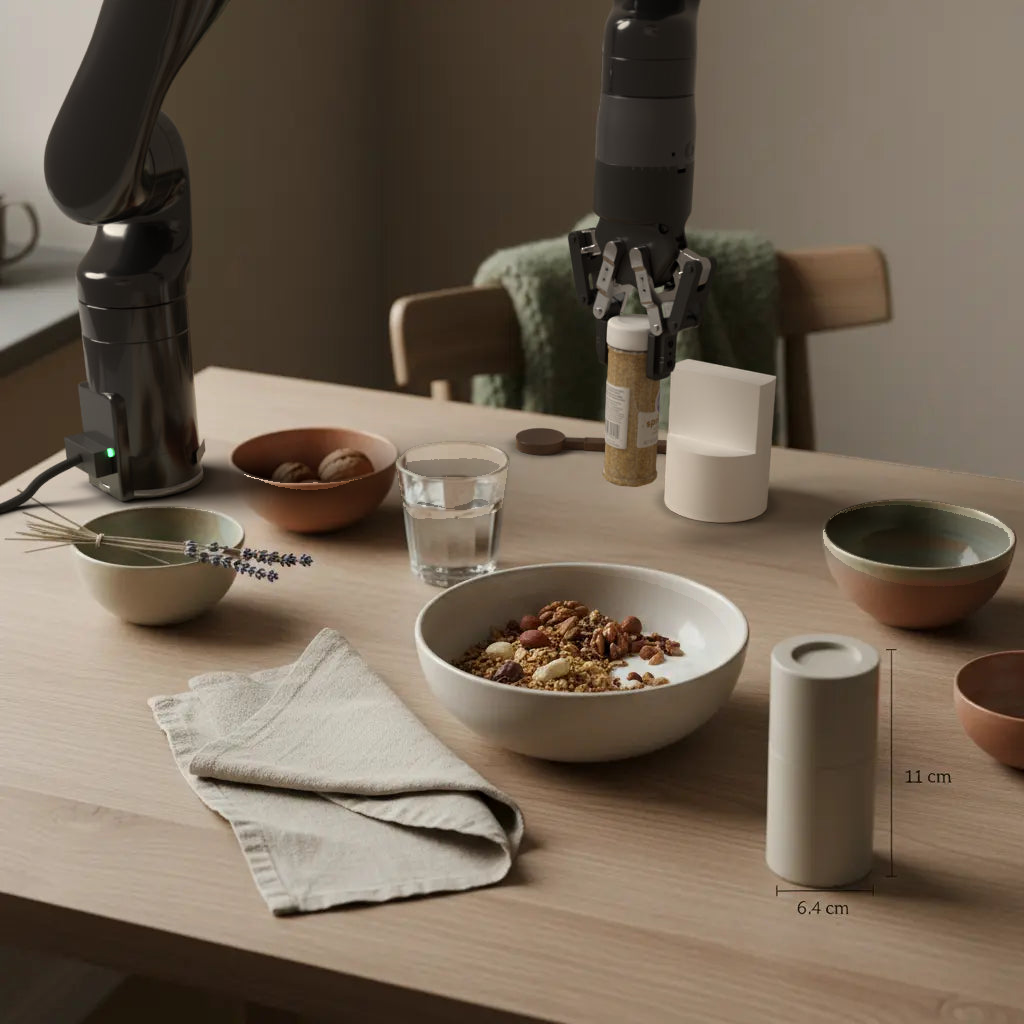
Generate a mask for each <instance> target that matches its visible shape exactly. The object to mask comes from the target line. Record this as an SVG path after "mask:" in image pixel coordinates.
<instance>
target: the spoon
mask: <svg viewBox="0 0 1024 1024" xmlns="http://www.w3.org/2000/svg"><path fill="white" fill-rule="evenodd" d="M605 444H606V443H605V437H590V436H589V437H588V436H587V437H567V436H566V434H565V433H563V432H562V431H560V430H557V429H553V428H546V427H533V428H527V429H523V430H520V431H519V432H517V433H516V434H515V448H516V449H517V451H520V452H522V453H525V454H529V455H539V456H546V455H554V454H557V453H560V452H562V451H563V450H583V451H591V452H592V451H595V452H596V451H597V452H605ZM666 450H667V439H658V441H657V454H666Z"/></svg>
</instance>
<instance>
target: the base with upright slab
mask: <svg viewBox="0 0 1024 1024" xmlns="http://www.w3.org/2000/svg"><path fill="white" fill-rule="evenodd" d="M776 385H777V376H776V375H772V374H766V373H761V372H756V371H752V370H745V369H741V368H736V367H730V366H724V365H721V364H715V363H711V362H706V361H701V360H695V359H690V358H687V359H683V360H680V361H676V363H675V368H674V371H673V372H671V374H670V385H669V386H670V387H669V388H670V389H669V406H668V407H669V409H668V427H667V428H668V430H667V431H668V432H667V435H666V440H667V450H666V453H665V473H664V474H665V476H664V497H663V501H664V504H665V506H666V507H667V508H668V509H669V510H670V511H671V512H673V513H675V514H677V515H679V516H681V517H684V518H686V519H687V518H688V519H690V520H695V521H699V522H706V523H708V522H709V523H718V524H719V523H736V522H737V523H738V522H744V521H748V520H751V519H754V518H758V517H760V515H762V514H763V513H764V512H765V511H766V510H767V508H768V499H769V498H768V497H769V483H770V471H771V470H770V469H771V459H772V458H771V457H772V445H773V440H772V438H773V426H774V425H773V424H774V412H775V400H776V399H775V397H776Z"/></svg>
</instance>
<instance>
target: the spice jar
mask: <svg viewBox="0 0 1024 1024" xmlns="http://www.w3.org/2000/svg"><path fill="white" fill-rule="evenodd" d="M648 334H652V332H651V330H650V325H649V320H648V314H643V313H624V314H623V313H622V314H620V315H618V316H615V317H612V318H611V319H610V320H609V321H608V325H607V343H608V349H609V353H608V365H607V378H606V383H605V385H606V386H605V387H606V388H605V410H604V411H605V412H604V413H605V414H604V416H605V418H604V438H605V443H606V444H605V451H604V466H603V469H602V477H603V478H604V480H606V481H607V482H608V483H611V484H613V485H615V486H619V487H630V488H638V487H643V486H647V485H650V484H652V483H653V482H654V481H655V480H657V478H658V471H657V458H658V457H657V455H658V453H657V441H658V440H659V431H660V430H659V427H660V425H659V424H660V403H661V380H658V381H654V380H651V379H648V378H647V376H646V369H647V349H648Z"/></svg>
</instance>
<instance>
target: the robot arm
mask: <svg viewBox="0 0 1024 1024" xmlns="http://www.w3.org/2000/svg"><path fill="white" fill-rule="evenodd" d="M230 1H231V0H103V1H102V3H101V7H100V10H99V14H98V16H97V19H96V23H95V26H94V28H93V32H92V36H91V38H90V41H89V43H88V46H87V48H86V51H85V52H84V53H85V54H84V55H83V58H82V60H81V61H80V64H79V67H78V69H77V71H76V74H75V76H74V78H73V80H72V82H71V84H70V86H69V89H68V91H67V93H66V95H65V97H64V100H63V102H62V104H61V106H60V108H59V111H58V112H57V115H56V117H55V120H54V121H53V124H52V126H51V128H50V131H49V134H48V137H47V140H46V144H45V147H44V155H43V173H44V175H43V176H44V181H45V184H46V188H47V190H48V193H49V196H50V198H51V200H52V202H53V203H54V205H55V206H56V207H57V208H58V210H59V211H60V212H61V213H62V214H63V215H64V216H65V217H67V218H68V219H69V220H71V221H73V222H75V223H78V224H81V225H83V226H84V225H85V226H91V227H93V226H94V227H95V226H96V231H95V235H94V238H93V241H92V243H91V245H90V247H89V249H88V250H87V252H86V254H85V255H83V257H82V258H81V260H80V261H79V263H78V265H77V266H76V269H75V286H76V296H77V303H78V312H79V320H80V330H81V340H82V348H83V357H84V358H83V359H84V366H85V374H86V380H83V381H80V382H79V383H78V387H77V388H78V398H79V406H80V415H81V423H82V432H80V433H76V434H72V435H67V436H64V437H63V442H64V449H65V454H66V455H65V457H66V459H64V460H62V461H60V462H58V463H56V464H54V465H51V466H50V467H49V468H47V469H46V470H44V471H42V472H41V473H40V474H38V475H37V476H35V478H33V480H31V482H30V483H29V484H28V485H27V487H26V488H25V489H24V490H23V491H21V492H20V493H19V494H17V495H15V496H14V497H11V498H9V499H7V500H5V501H3V502H1V503H0V514H4V513H7V512H10V511H12V510H13V509H17V508H18V507H20V506H22V505H24V504H25V503H27V502H28V501H30V500H31V499H32V498H33V497H34V496H35V494H36V493H37V492H38V491H39V490H40V489H41V487H42V486H43V485H44V484H47V482H49V481H51V480H52V479H53V478H55V477H57V476H58V475H61V474H63V473H64V472H67V471H68V470H71V469H73V468H77V469H78V470H81V471H82V472H84V473H86V474H87V475H88V483H89V484H90V485H93V486H94V487H96V488H98V489H99V490H101V491H103V492H104V493H106V494H108V495H110V496H113V497H114V498H115V499H116V500H119V501H121V502H126V501H129V500H135V499H150V498H151V499H152V498H160V497H165V496H170V495H175V494H178V493H179V494H180V493H182V492H184V491H187V490H190V489H191V488H194V487H195V486H197V485H198V484H200V482H201V481H202V480H203V478H204V466H203V464H202V459H203V456H204V454H205V453H206V439H205V438H203V440H202V441H201V443H200V431H199V430H200V429H199V419H198V407H197V406H198V405H197V395H196V383H195V371H194V370H195V369H194V360H193V359H194V358H193V348H192V347H193V346H192V336H191V335H192V334H191V321H190V310H189V309H190V308H189V298H188V286H187V274H188V270H189V266H190V264H191V261H192V256H193V249H194V248H193V247H194V246H193V245H194V243H193V242H194V239H193V238H194V237H193V235H194V234H193V207H192V184H191V170H190V162H189V156H188V150H187V147H186V144H185V140H184V138H183V136H182V134H181V132H180V130H179V128H178V126H177V124H176V123H175V122H174V120H173V119H172V118H171V116H169V114H168V113H167V112H165V111H164V110H163V109H162V107H163V104H164V102H165V99H166V97H167V95H168V92H169V91H170V88H171V86H172V84H173V82H174V80H175V79H176V77H177V76H178V73H179V72H180V71H181V69H182V67H183V66H184V65H185V63H186V62H187V60H189V58H190V56H192V54H193V52H194V51H195V50H196V48H197V47H198V46H199V45H200V44H201V42H202V41H203V40H204V38H205V37H206V36H207V34H208V33H209V32H210V30H211V29H212V27H213V26H214V25H215V23H216V22H217V21H218V19H219V18H220V16H221V15H222V14H223V12H224V11H225V9H226V7H227V6H228V5H229V3H230ZM701 1H702V0H613V1H612V6H611V10H610V12H609V14H608V16H607V17H606V21H605V24H604V29H603V35H602V43H601V45H602V46H601V66H600V67H601V68H600V91H599V92H600V94H599V103H598V109H597V114H596V123H595V141H594V142H595V144H594V145H595V146H594V168H593V169H594V171H593V196H592V197H593V200H592V201H593V202H592V209H593V212H594V214H595V215H596V216H597V217H599V219H598V222H597V224H596V225H595V227H588V228H582V229H578V230H573V231H570V232H569V233H568V235H567V242H568V249H569V254H570V255H569V256H570V261H571V269H572V275H573V280H574V286H575V293H576V299H577V302H578V304H579V305H580V306H581V307H588V308H589V309H590V310H592V313H593V315H594V317H595V318H596V333H595V334H596V337H595V341H596V342H595V351H596V354H597V357H598V358H597V360H598V362H599V363H600V364H602V365H605V366H608V353H609V349H608V343H607V325H608V321H609V320H610V319H611V318H612V317H615V316H618V315H621V314H623V313H624V311H625V309H626V307H627V306H626V305H627V303H628V300H629V296H630V293H631V292H632V291H634V289H637V290H638V296H639V301H640V304H641V306H642V307H644V308H645V309H646V313H647V314H646V315H648V320H649V325H650V330H651V332H652V334H648V349H647V369H646V376H647V378H648V379H651V380H654V381H658V380H660V381H662V380H664V379H667V378H669V377H671V372H673V371H674V368H675V364H676V363H677V359H676V358H677V342H678V334H679V333H681V332H682V331H686V330H690V329H695V328H698V327H699V326H700V325H701V323H702V319H703V315H704V312H705V309H706V305H707V302H708V299H709V296H710V292H711V289H712V285H713V282H714V279H715V276H716V272H717V269H718V260H717V259H716V258H715V257H714V256H713V255H708V256H701V255H700V254H698V253H696V252H695V251H692V250H691V249H690V248H689V241H688V238H687V235H686V225H687V222H688V220H689V217H690V216H691V214H692V212H693V211H692V210H693V196H694V195H693V194H694V179H695V162H696V145H697V144H696V143H697V123H698V122H697V108H696V84H697V67H698V54H699V53H698V52H699V50H698V49H699V36H698V31H699V30H698V27H699V26H698V24H699V11H700V6H701ZM678 268H679V272H678ZM589 276H590V277H591V282H592V288H591V283H590V277H589ZM662 287H663V290H662V291H660V292H657V291H656V289H659V288H662ZM663 309H664V312H663ZM664 314H665V317H664Z"/></svg>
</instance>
